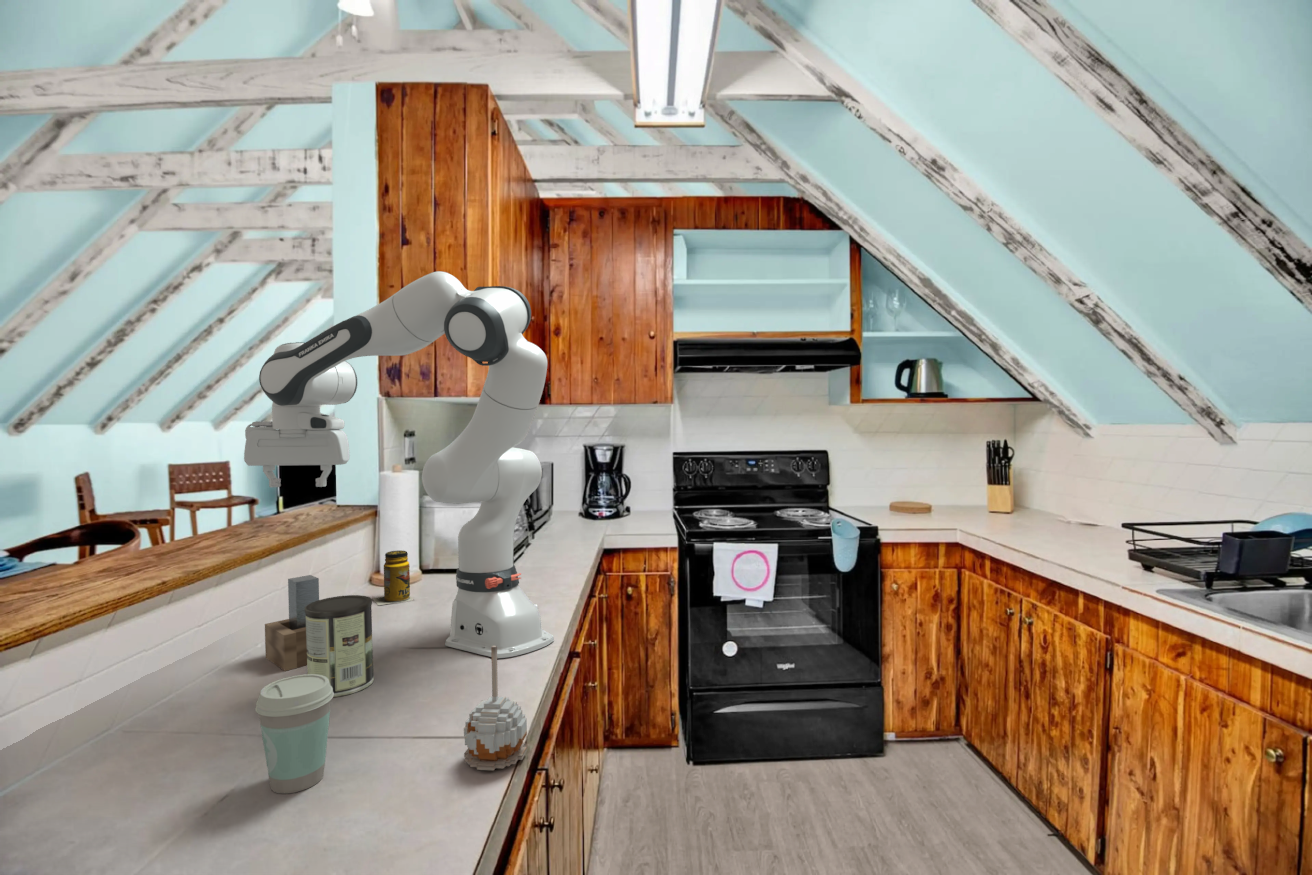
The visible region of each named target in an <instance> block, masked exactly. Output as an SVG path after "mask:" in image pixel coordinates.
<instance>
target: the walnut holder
mask: <svg viewBox="0 0 1312 875" xmlns="http://www.w3.org/2000/svg"><path fill="white" fill-rule="evenodd" d="M264 640H265V641H264V644H265V645H264V646H265V651H264V652H265V659H267V660H268V661H269V662H271V663H272V664H274V665H275V666H277V667H278V668H280V669H281V670H283V671H284V672H288V671H291V670H294V669H298V668H301V667H305V666H306V667H307V641H306V627H304V628H300V629H295V630H291V629H289V618H286V619H282V620H278V621H272V622H268V623H265V624H264Z"/></svg>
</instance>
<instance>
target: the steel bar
mask: <svg viewBox="0 0 1312 875" xmlns="http://www.w3.org/2000/svg"><path fill="white" fill-rule="evenodd" d="M319 580H320V579H319V577H316V576H314V575H311V574H308V575H303V576H302V575H301V576H297V577H292V578H287V590H288V591H287V592H288V594H287V595H288V619H289V629H291V630H295V629H300V628H304V627H306V614H305V606H307V605H308V604H310V603H312V602H315V601H318V600H320V585H319V584H320V581H319Z"/></svg>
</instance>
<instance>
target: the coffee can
mask: <svg viewBox="0 0 1312 875" xmlns="http://www.w3.org/2000/svg"><path fill="white" fill-rule="evenodd" d="M372 605H373V598H372V597H371V596H370V597H369V596H366V595H359V594H355V595H354V594H353V595H352V594H351V595H349V594H348V595H347V594H346V595H337V596H331V597H326V598H323V599H319V600H318V601H315V602H312V603H310V604H308V605H307V606H305V614H306V641H307V665H306V668H307V669H306V670H307V674H317V675H323V676H325V677H327V678H328V680H329V682H330V685H331V686H332V688H333V692H334V696H333V698H338V697H344V696H348V695H351V694H355V693H358V692H360V691H363V690H364V689H365V690H366V689H367V688H368V687H370V686H371V685H372V684H373V683H374V681H375V677H374V660H373V658H374V657H373V656H374V655H373V653H374V650H373V624H372V623H373V620H372V618H373V616H372V614H373V612H372V610H373V609H372Z"/></svg>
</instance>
